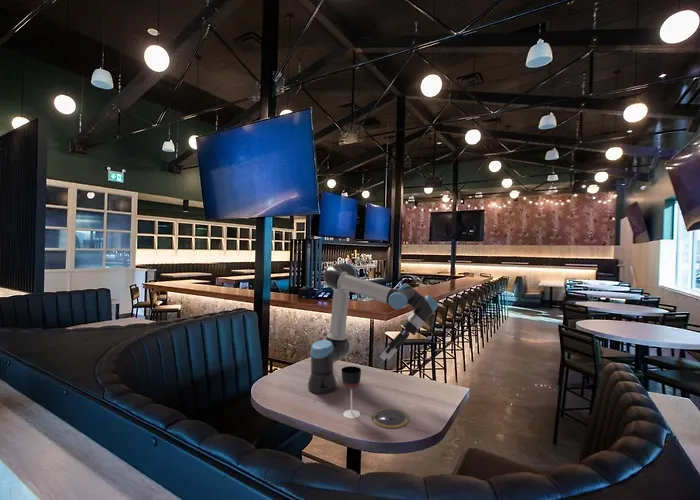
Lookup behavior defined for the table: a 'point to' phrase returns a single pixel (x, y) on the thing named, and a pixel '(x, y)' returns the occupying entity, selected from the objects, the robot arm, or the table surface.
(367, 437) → the table surface
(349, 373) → the wineglass
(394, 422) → the coaster
